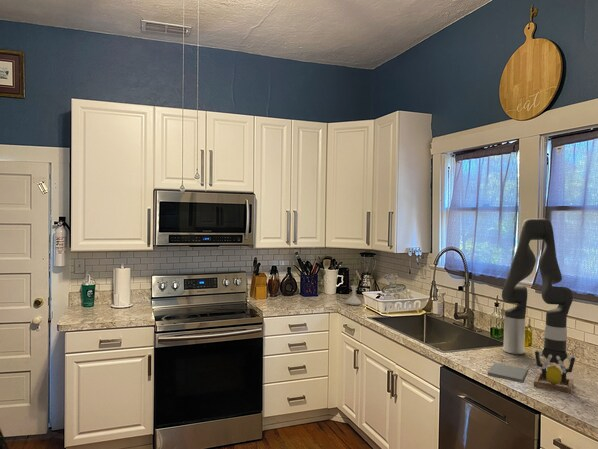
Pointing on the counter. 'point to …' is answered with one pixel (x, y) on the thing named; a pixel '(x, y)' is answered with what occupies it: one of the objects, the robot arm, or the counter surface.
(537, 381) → the walnut collar
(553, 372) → the lemon
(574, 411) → the counter surface
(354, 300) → the flower in vase
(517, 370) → the grey rectangular plate
